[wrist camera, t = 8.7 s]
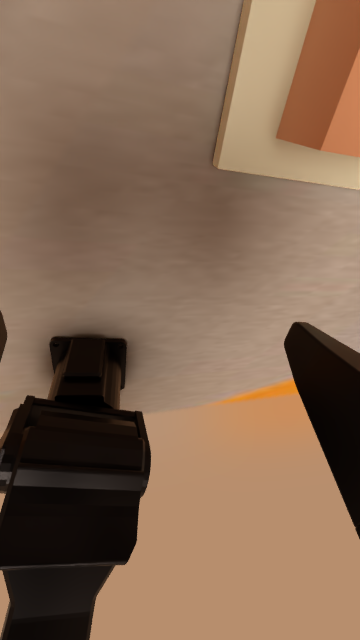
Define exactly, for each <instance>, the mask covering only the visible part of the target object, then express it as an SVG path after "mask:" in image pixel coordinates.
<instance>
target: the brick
mask: <svg viewBox="0 0 360 640" xmlns="http://www.w3.org/2000/svg"><path fill="white" fill-rule="evenodd" d="M276 138H277V139H281V140H284V141H288V142H292V143H295V144H299V145H302V146H306V147H309V148H313V149H317V150H320V151H326V152H331V153H337V154H343V155H349V156H355V157H360V0H316V3H315V6H314V10H313V13H312V16H311V20H310V23H309V27H308V30H307V33H306V37H305V40H304V44H303V47H302V50H301V54H300V57H299V60H298V64H297V67H296V71H295V74H294V77H293V81H292V84H291V88H290V91H289V94H288V98H287V101H286V105H285V108H284V111H283V115H282V118H281V122H280V125H279V128H278V132H277V135H276Z"/></svg>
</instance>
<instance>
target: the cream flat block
mask: <svg viewBox="0 0 360 640" xmlns="http://www.w3.org/2000/svg"><path fill="white" fill-rule="evenodd" d="M315 3H316V0H244V3H243V8H242V13H241V18H240V23H239V28H238V34H237V39H236V44H235V49H234V54H233V59H232V65H231V70H230V75H229V80H228V85H227V91H226V96H225V101H224V106H223V111H222V116H221V122H220V127H219V132H218V137H217V142H216V147H215V153H214V158H213V163H212V164H213V165H214V166H215V167H216V168H217V169H223V170H229V171H236V172H243V173H250V174H256V175H263V176H270V177H276V178H283V179H290V180H297V181H303V182H310V183H317V184H323V185H330V186H337V187H344V188H350V189H357V190H360V157H355V156H349V155H343V154H337V153H331V152H326V151H320V150H317V149H313V148H309V147H306V146H302V145H299V144H295V143H292V142H288V141H284V140H281V139H277V138H276V135H277V132H278V128H279V125H280V122H281V118H282V115H283V111H284V108H285V105H286V101H287V98H288V94H289V91H290V88H291V84H292V81H293V77H294V74H295V71H296V67H297V64H298V60H299V57H300V54H301V50H302V47H303V44H304V40H305V37H306V33H307V30H308V27H309V23H310V20H311V16H312V13H313V10H314V6H315Z"/></svg>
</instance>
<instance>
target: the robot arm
mask: <svg viewBox="0 0 360 640" xmlns="http://www.w3.org/2000/svg"><path fill="white" fill-rule="evenodd" d="M6 341H7V330H6V327H5V323H4V319H3V315H2V313H1V311H0V361H1V358H2V354H3V351H4V348H5V344H6ZM55 343H58V344H55ZM120 344H122V345H120ZM284 348H285V351H286V354H287V358H288V361H289V365H290V368H291V371H292V375H293V378H294V381H295V384H296V387H297V390H298V392H299V395H300V397H301V399H302V402H303V404H304V407H305V409H306V411H307V414H308V416H309V419H310V421H311V423H312V426H313V428H314V430H315V433H316V435H317V438H318V440H319V442H320V445H321V447H322V450H323V452H324V454H325V457H326V459H327V462H328V464H329V466H330V469H331V471H332V473H333V476H334V478H335V481H336V483H337V486H338V488H339V490H340V493H341V495H342V498H343V500H344V502H345V504H346V507H347V510H348V512H349V514H350V517H351V519H352V522H353V524H354V526H355V527H356V531H357V534H358V536H359V539H360V353H358V352H356V351H355V350H353V349H351V348H349V347H348V346H346V345H344V344H343V343H341V342H339V341H338V340H336V339H334V338H332V337H331V336H329V335H327V334H326V333H324V332H322V331H321V330H319V329H317V328H315V327H314V326H312V325H310V324H309V323H306V322H294V323H293V324H292V326H291V328H290V330H289V332H288V334H287V336H286V338H285V341H284ZM126 349H127V343H126V341H125V340H122V339H92V338H52V339H51V341H50V351H51V357H52V363H53V370H54V378H53V381H52V385H51V388H50V392H49V395H48V399H41V398H35V396H29V395H27V397H26V399H25V401H24V404H20V407H19V408H17V409H14V410H13V413H12V415H11V418H10V421H9V423H8V426H7V428H6V430H5V432H4V434H3V436H2V437H1V439H0V493H4V494H6V495H5V499H4V502H3V505H2V509H1V512H0V570H2V571H3V575H4V579H5V582H6V586H7V590H8V594H9V598H10V602H9V606H8V610H7V613H6V617H5V622H4V625H3V629H2V633H1V637H0V640H89V638H90V632H91V625H92V618H93V612H94V606H95V600H96V596H97V595H98V593H99V591H100V590H101V588H102V586H103V585H104V583H105V581H106V580H107V578H108V577H109V575H110V573H111V572H112V570H113V568H114V567H115V565H125V564H126V563H127V562H128V560H129V558H130V556H131V553H132V551H133V549H134V547H135V545H136V541H137V526H138V511H139V502H140V498H141V497H142V496H143V494H144V493H145V490H146V488H147V484H148V480H149V475H150V467H151V451H150V446H149V441H148V437H147V433H146V428H145V424H144V419H143V414H142V412H141V411H135V412H133V411H126V410H119V407H120V390H122V389H123V388H124V387H125V368H126Z"/></svg>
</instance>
